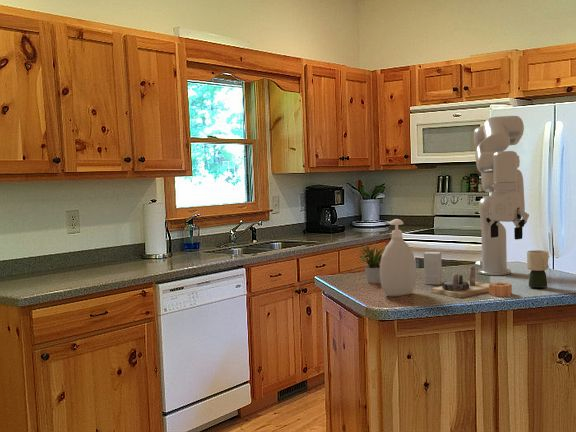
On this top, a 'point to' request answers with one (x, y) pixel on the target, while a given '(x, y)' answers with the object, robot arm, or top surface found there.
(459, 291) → the gear board
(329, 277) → the top surface
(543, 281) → the character mug
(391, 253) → the soap bottle
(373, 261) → the house plant
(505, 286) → the loose gear
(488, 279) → the top surface
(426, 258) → the skincare box
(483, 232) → the robot arm
